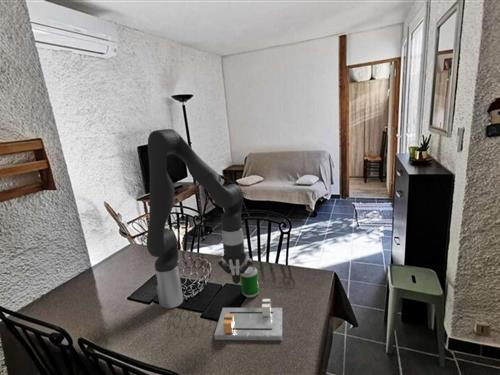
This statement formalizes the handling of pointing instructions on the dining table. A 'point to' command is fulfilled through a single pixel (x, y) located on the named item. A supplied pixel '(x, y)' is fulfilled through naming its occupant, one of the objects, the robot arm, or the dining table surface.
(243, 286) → the soda can
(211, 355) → the dining table surface
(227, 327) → the fader cap orange
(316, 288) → the dining table surface
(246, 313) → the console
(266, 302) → the fader cap cream
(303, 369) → the dining table surface
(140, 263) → the dining table surface
